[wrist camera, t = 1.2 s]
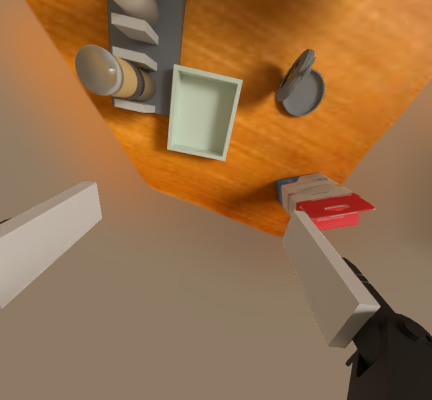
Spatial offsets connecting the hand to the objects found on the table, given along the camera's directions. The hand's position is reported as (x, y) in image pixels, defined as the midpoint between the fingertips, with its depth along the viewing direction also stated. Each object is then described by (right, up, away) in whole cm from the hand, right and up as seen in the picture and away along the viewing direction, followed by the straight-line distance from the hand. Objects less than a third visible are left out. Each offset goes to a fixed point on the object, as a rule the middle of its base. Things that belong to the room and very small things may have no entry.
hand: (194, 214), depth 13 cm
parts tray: (-1, +15, +19) cm, 25 cm away
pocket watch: (+14, +19, +18) cm, 30 cm away
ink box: (+18, +4, +25) cm, 31 cm away
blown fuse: (-10, +19, +16) cm, 27 cm away
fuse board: (-9, +23, +16) cm, 30 cm away
